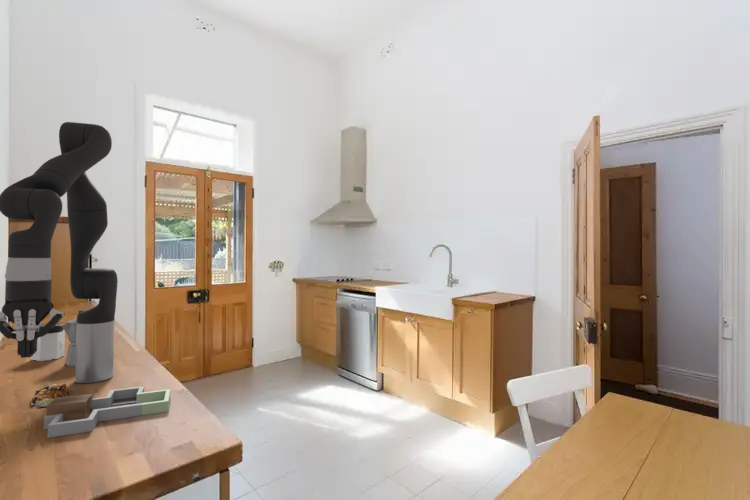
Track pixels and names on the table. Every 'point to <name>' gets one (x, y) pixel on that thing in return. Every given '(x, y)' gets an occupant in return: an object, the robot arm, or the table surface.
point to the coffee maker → (71, 332)
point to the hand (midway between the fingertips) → (27, 356)
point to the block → (71, 407)
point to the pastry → (48, 395)
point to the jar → (50, 344)
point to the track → (111, 410)
